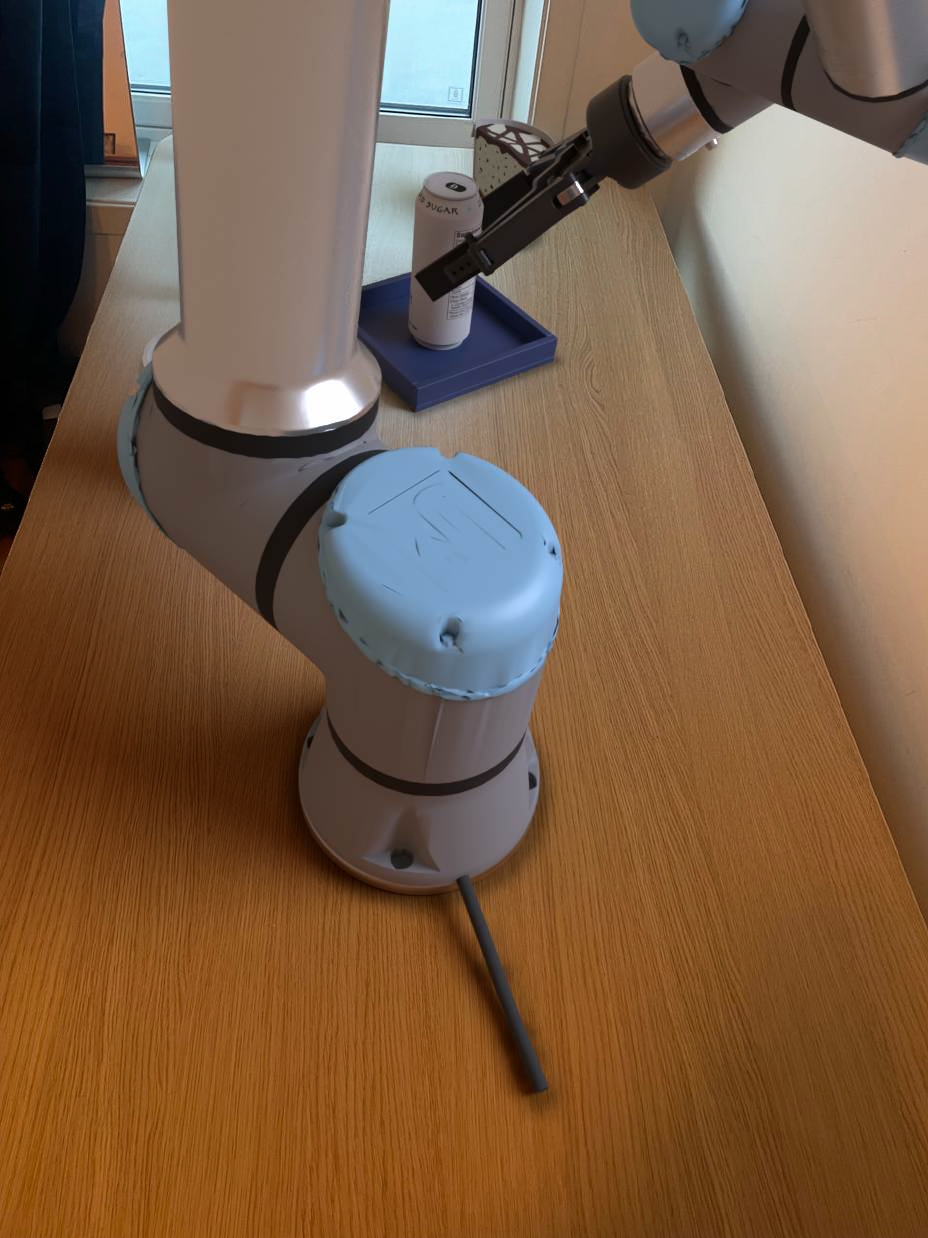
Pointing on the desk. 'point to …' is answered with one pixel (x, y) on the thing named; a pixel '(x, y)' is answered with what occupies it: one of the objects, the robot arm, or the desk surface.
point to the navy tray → (435, 376)
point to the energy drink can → (438, 229)
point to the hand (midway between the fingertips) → (452, 252)
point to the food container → (504, 150)
